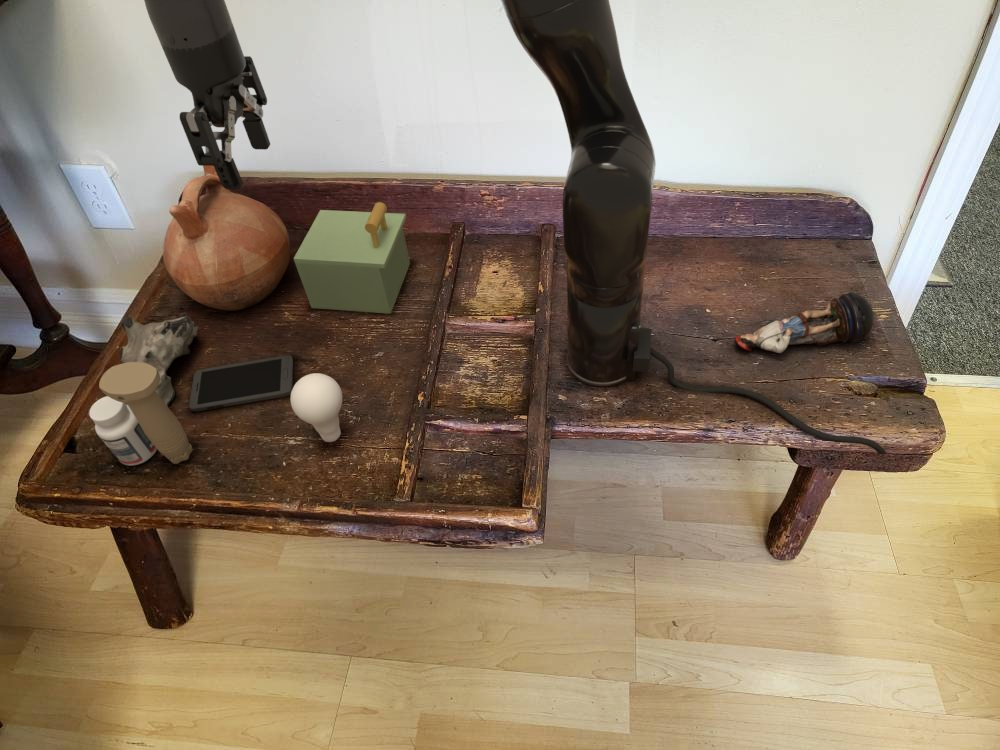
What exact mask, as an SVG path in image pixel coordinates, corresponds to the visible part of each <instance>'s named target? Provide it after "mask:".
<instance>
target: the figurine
mask: <svg viewBox="0 0 1000 750" xmlns="http://www.w3.org/2000/svg"><path fill="white" fill-rule="evenodd" d="M873 309H874V308H873V306H872V305H871V303H870V302H869V300H867V298H866V297H865V296H863V295H861V294H859V293H855V292H847V293H844V294H841V295H840V296H839V297H838V298H836V297H833V298H832V300H829V301H828V302H827V305H826V308H825V309H824V310H820V309H819V310H818V309H815V310H814V309H813V310H805V311H803V312H799V313H798V314H797V315H793V316H791V317H789V318H783V319H782V320H779V319H778V320H774V321H772V322H770V323H768V324H767V325H764V326H761V327H760V328H759V329H757V330H756V331H753V332H752V333H745V334H743V335H736V336H734V343H735V345H737V346H738V347H739V348H740V349H742V350H744V351H748V352H751V351H752V350H753V348H754V349H756V348H758V349H762V350H764V351H768V352H773V353H778V354H781V353H783V352H784V351H786V349H787V348H788V346H789V345H791V346H793V345H801V344H804V345H805V344H806V345H811V344H814V345H816V346H826V345H828V344H832V343H838V342H841V343H847V341H848V342H851V343H856V344H858V343H859V342H860V341H861V340H865V339H866V338H867V337H868V336H869V334H870V332H871V331H872V329H873V326H874V321H875V319H874V318H875V313H874V310H873Z"/></svg>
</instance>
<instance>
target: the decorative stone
mask: <svg viewBox="0 0 1000 750" xmlns="http://www.w3.org/2000/svg"><path fill="white" fill-rule="evenodd" d="M120 325H121V327H122V329H123V331H124V333H125V335H126V336H127V344H126V345H123V346H121V347H120V349H119V352H118V355H119V356H120V361H121V364H123V363H127V362H142V363H147V364H149V365H151V366H153V367H154V368H156V369H157V371H158V372H159V374H160V383H159V385H158V387H157V388H156V390H155V391H156V392H157V394H158V395H159V396H160V398H161V399H162V400H163V402H164V403H165V404H166V405H167V407H168V408H169V407H170V404H171V403H172V402H173V400H174V399H175V396H176V393H175V389H174V387H173V385H172V384H173V383H172V377H171V376H168V375H167V371H168V369H169V368H170V366H171V365H172V363H173V362H174V361H175V360H176V359H178V358H180V357H183V356H185V355H190V353H191V349H190V345H191V344H192V343H193V341H194V338H195V337H197V333H198V331H199V329H200V326H198V325H197V324H196V323H195V321H193V320H192V318H191V317H190V316H189V315H188V313H187V312H182V313H180V316H179V318H178V317H177V318H174V319H165V320H163V321H160V322H159V321H158V322H149V323H146V324H142V323H140V322H139V321H137V320H135V319H134V318H133V317H131V316H126V317H124V318H122V319H121V320H120Z"/></svg>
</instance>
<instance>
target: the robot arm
mask: <svg viewBox="0 0 1000 750" xmlns="http://www.w3.org/2000/svg"><path fill="white" fill-rule="evenodd" d="M143 2H144V5H145V9H146V11H147V15H148V18H149V20H150V22H151V25H152V27H153V30H154V32H155V34H156V37H157V39H158V41H159V44H160V46H161V49H162V50H163V53H164V55H165V58H166V60H167V62H168V65H169V67H170V69H171V71H172V74H173V76H174V79H175V80H176V82H177V83H178V84H179V85H181V86H183V87H184V88H186V89H187V90H188V91H189V92H190V93H191V96H192V100H193V108H192V109H191V110H190V111H182V112H180V113H179V121H180V124H181V126H182V128H183V131H184V133H185V137H186V138H187V141H188V143H189V146H190V148H191V151H192V154H193V156H194V158H195V161H196V163H197V165H198V166H200V167H201V166H202V167H203V166H214V168H215V170H216V173H217V175H218V177H219V180H220V182H221V184H222V186H223V187H224V188H225V189H228V190H230V191H234V190H235V191H239V190H241V189H242V188H243V186H244V182H243V179H242V177H241V174H240V172H239V169H238V167H237V164H236V162H235V159H234V157H232V155H233V154H232V153H233V152H232V141H234V140H235V138H236V128H235V127H236V126H235V125H236V124H237V122H238V119H239V118H244V119H243V120H242V125H243V127H244V130H245V132H246V135H247V138H248V141H249V143H250V146H251V148H252V149H254V150H268V149H269V147H270V146H271V141H270V139H269V135H268V133H267V130H266V127H265V124H264V121H263V117H264V109H263V106H266V105H267V104H268V98H267V94H266V92H265V89H264V87H263V84H262V81H261V79H260V76H259V74H258V71H257V68H256V65H255V62H254V60H253V58H252V56H248V55H244V53H243V49H242V46H241V43H240V41H239V38H238V35H237V32H236V28H235V27H234V23H233V20H232V17H231V15H230V12H229V9H228V5H227V4H226V1H225V0H143ZM500 2H501V5H502V7H503V9H504V12H505V16H506V18H507V20H508V23H509V25H510V27H511V29H512V32H513V33H514V35H515V37H516V39H517V41H518V42H519V44H520V45H521V47H522V48H523V50H524V51H525V53H526V54H527V56H529V58H530V59H531V61H532V62H533V63H534V64H535V65H536V67H537V68H538V69H539V70H540V71H541V73H542V74H543V75H544V76H545V78H546V79H547V81H548V82H549V84H550V85H551V87H552V89H553V91H554V93H555V96H556V97H557V100H558V102H559V106H560V108H561V111H562V115H563V119H564V122H565V126H566V130H567V134H568V139H569V143H570V150H571V151H570V160H569V164H568V169H567V173H566V176H565V180H564V184H563V191H562V229H563V230H562V232H563V233H562V234H563V250H564V254H565V257H566V326H567V327H566V329H567V331H566V336H567V337H566V338H567V339H566V341H567V342H566V343H567V345H566V346H567V347H566V365H567V368H568V370H569V372H570V373H571V374H572V375H573V377H574V378H576V379H577V380H578V381H579V382H581V383H584V384H587V385H589V386H593V387H612V386H615V385H619V384H621V383H623V382H625V381H634V380H635V379H636V372H642V373H649V369H650V360H651V356H652V357H653V358H655V359H656V360H658V361H659V362H661V363H662V365H664V366H665V367H666V369H667V378H668V381H669V383H670V384H671V385H673V386H674V387H675V388H677V389H679V390H683V391H691V392H694V391H695V392H703V393H704V392H705V393H714V394H717V393H718V394H732V395H733V394H736V395H739V396H745V397H748V398H750V399H753V400H756V401H758V402H760V403H762V404H764V405H765V406H767V407H769V408H770V409H772V410H773V411H775V412H776V413H777V414H779V415H780V416H781V417H783V418H784V419H785V420H787V422H789V423H791V424H792V425H794V427H797V428H798V429H800V430H801V431H803V432H805V433H807V434H809V435H810V436H814V437H816V438H818V439H821V440H824V441H828V442H833V443H841V444H843V443H845V444H856V445H864V446H867V447H869V448H872V449H873V450H875V451H876V452H877V454H880V455H883V456H884V455H886V454H887V451H886V450H885V448H884V447H882V446H881V444H879V443H878V442H876V441H874V440H873V439H869V438H866V437H861V436H851V435H850V436H848V435H836V434H830V433H826V432H823V431H822V430H821V431H820V430H818V429H816V428H813V427H811V426H810V425H808V424H806V423H805V422H802V420H799V419H798V418H796V417H795V416H794V415H793V414H791V413H790V412H788V411H787V410H785V408H783V407H781V406H780V405H778V404H777V403H775V402H774V401H773V400H771V399H769V398H767V397H765V396H764V395H761V394H760V393H757V392H754V391H753V390H749V389H746V388H741V387H733V386H712V387H711V386H710V387H701V386H691V385H687V384H684V383H682V382H680V381H679V380H678V379H676V378H675V369H674V366H673V364H672V362H670V360H669V359H668V357H665V356H664V355H663V354H662V353H660V352H658V351H657V350H655V349H654V348H653V347H651V345H652V328H646V327H641V318H642V317H641V316H642V306H643V305H642V302H643V293H644V284H645V283H644V282H645V275H646V274H645V272H646V265H647V256H648V241H649V232H650V224H651V223H650V221H651V214H652V203H653V192H654V184H655V175H656V164H657V161H656V154H655V148H654V146H653V143H652V140H651V137H650V135H649V132H648V130H647V128H646V125H645V123H644V121H643V118H642V115H641V113H640V111H639V108H638V106H637V103H636V100H635V98H634V96H633V93H632V91H631V88H630V85H629V81H628V79H627V76H626V73H625V70H624V67H623V62H622V57H621V51H620V46H619V41H618V34H617V31H616V26H615V21H614V17H613V12H612V8H611V4H610V0H500ZM249 89H253V90H254V92H255V94H251V92H250V90H249ZM212 126H213V127H215V128H224V129H223V130H222V131H214V130H213V128H212ZM217 141H221V150H220V146H219V145H218V142H217ZM203 147H204V149H205V150H204V149H203Z"/></svg>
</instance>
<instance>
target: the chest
mask: <svg viewBox="0 0 1000 750" xmlns="http://www.w3.org/2000/svg"><path fill="white" fill-rule="evenodd" d="M404 232H405V231H404V226H403V227H402V229H401V232H400V234H399V237H398V239H397V241H396V244H395V246H394V248H393V251H392V253H391V256H390V258H389V260H388V263H387V265H386V267H385V268H372V267H356V266H339V265H323V264H307V263H295V262H294V264H295V267H296V270H297V272H298V275H299V279H300V281H301V283H302V286H303V289H304V292H305V294H306V297H307V301H308V303H309V305H310V308H311V309H317V310H318V309H319V310H320V309H321V310H332V311H347V312H361V313H362V312H363V313H374V314H392V311H393V309H394V306H395V303H396V301H397V299H398V296H399V293H400V291H401V289H402V285H403V283H404V280H405V278H406V275H407V273H408V270H409V268H410V265H411V261H410V257H409V252H408V247H407V242H406V237H405V233H404Z"/></svg>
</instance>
